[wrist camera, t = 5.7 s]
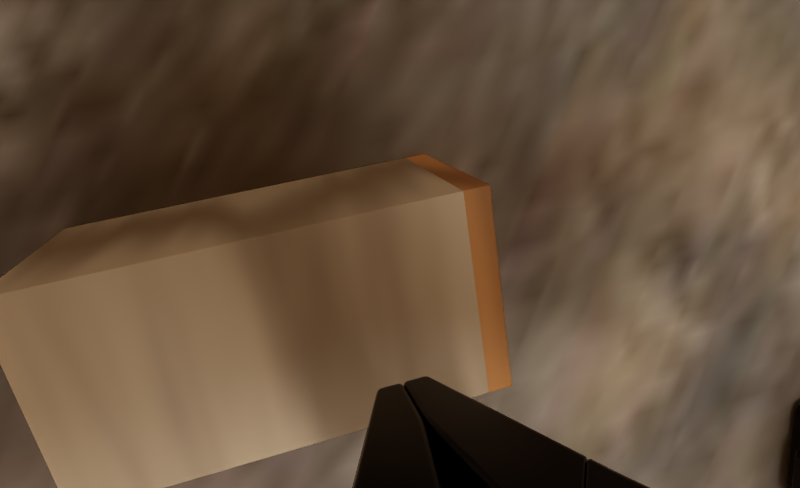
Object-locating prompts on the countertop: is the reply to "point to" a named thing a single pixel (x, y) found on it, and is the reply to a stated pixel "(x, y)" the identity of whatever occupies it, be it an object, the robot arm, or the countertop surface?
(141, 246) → the birch block
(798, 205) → the countertop surface
